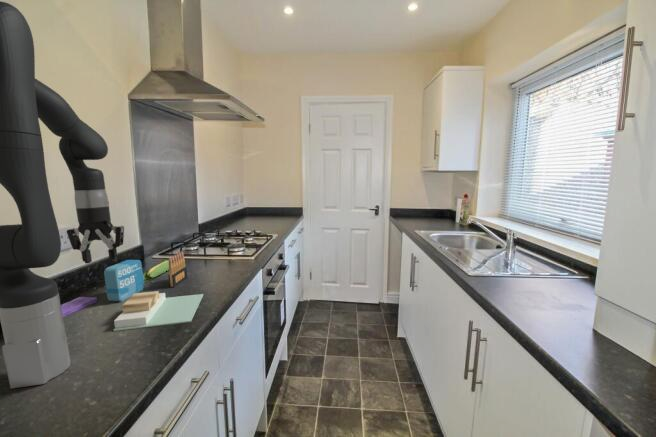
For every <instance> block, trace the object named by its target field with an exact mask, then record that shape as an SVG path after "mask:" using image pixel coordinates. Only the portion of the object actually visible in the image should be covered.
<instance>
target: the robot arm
mask: <svg viewBox="0 0 656 437" xmlns="http://www.w3.org/2000/svg"><path fill="white" fill-rule="evenodd" d="M31 30H32V29H31V27H30V25H29V23H28V20H27V19H26V18H25V16H24V15H23V13H22V12H21V11H20V10H19V9H18V8H17V7H16V6H14V5H13V4H10V3H8V2H6V1H0V185H1V186H2V187H3V188H4V189H5V190H6V191H7V192H8V193H9V195H10V196H11V197H12V200H14V202H15V204H16V207H17V209H18V213H19V216H20V221H21V223H20V224H19V223H18V224H5V225H4V224H1V225H0V324H1V325H0V326H1V330H2V335H3V340H4V344H3V345H2V346H1V349H2V355H3V360H4V364H5V368H6V373H7V379H8V385H9V388H10V389H18V388H23V387H24V388H26V387H31V386H38V385H45V384H46V383H48V381H50V380H52V379H54V378H56V377H58V376H60V375H61V374H63V373H64V372H65V371H66V370H68V368H69V367H70V366H71V356H70V350H69V345H68V340H67V333H66V328H65V323H64V317H63V316H62V310H61V305H62V304H61V299H60V294H59V293H60V292H59V288H58V282H56V281H55V280H54V279H51V278H48V277H43V276H41V275H39V274H36V273H35V272H33V271H31V270H30V269H38V268H47V267H48V268H49V267H50V266H52V265H54V264H55V263H56V262H57V261H58V259H59V257H60V256H61V250H62V249H61V248H62V243H61V242H62V241H61V235H60V230H59V226H58V223H57V218H56V215H55V211H54V206H53V204H52V199H51V194H50V190H49V184H48V179H47V178H48V176H47V172H46V171H47V170H46V163H45V161H46V160H45V152H44V145H43V144H44V143H43V137H42V132H41V126H40V121H41V122H42V123H43V124H44V125H45V126H46V128H47V129H48V130H49V131H50V132H51V133H52V134H53V135H55V136H56V137H60V139H59V142H58V149H59V152H60V154H61V157H62V158H63V160H64V162H65V164H66V166H67V168H68V171H69V172H70V175H71V178H72V184H73V190H74V205H75V210H76V217H77V222H78V227H77V228H76V227H73V228H70V229H67V230H66V235H67V237H68V240H69V242H70V245H71V248H72V250H75V251H76V250H77V251H80V253H81V259H82V261H83V262H84V263H85V264H90V263H91V262H92V261H93V260H92V254H91V253H92V252H91V249H90V248H91V245H92V243H93V241H102V243H103V244H105V245H106V247H107V248H108V250H107V252H108V258H109V262H113V263H114V262H115V261H116V259H117V258H118V251H117V248H119V247H120V246H122V245H124V240H125V239H124V235H125V234H124V233H125V226H124V225H119V226H116V225H113V224H112V222H111V220H112V219H111V212H110V211H111V210H110V202H109V198H108V194H107V190H106V184H105V183H106V182H105V177H104V172H103V171H102V170H100V169H98V168H94V167H93V168H92V167H89V166H87V164H86V162H85V161H98V160H103V159H105V158H106V157H107V155H108V152H109V148H108V144H107V142H106V140H105V139H104V138H103V137H102V135H100V133H99V132H97V131H96V130H95V129H94V128H92V127H91V126H89V124H87V123H86V122H84V120H82V119H80V117H79V116H78V115H77V114H76V112H75V110H73V108H72V106H71V105H70V104H69V103H68V102H67V101H66V99H64V97H62V96H61V94H59V93H58V92H57V91H55V90H54V89H53V88H50V87H49V86H48V85H47V84H45V83H43V82H41V80H38V79H37V78H35V77H36V74H35V73H36V72H35V71H36V70H35V68H36V65H35V64H36V63H35V60H36V58H35V57H36V56H35V45H34V44H35V43H34V37H33V32H32V31H31ZM112 231H113V233H114V234H115V239H114V237H113V235H111V233H112ZM80 234H81V235H82V236H83V238H82V240H81V239H80Z"/></svg>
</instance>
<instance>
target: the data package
mask: <svg viewBox="0 0 656 437" xmlns="http://www.w3.org/2000/svg"><path fill="white" fill-rule="evenodd" d="M103 271H104V272H103V275H104V276H103V277H104V283H105V288H106V289H105V291H106V296H107V297H106V298H107V300H108V301H109V302H124V301H127V300H128V299H129V298H130V297H131V296H132V295H133V294H135V293H142V291H143V290H144V288H145V282H144V281H145V280H143V274H144V272H143V266H142V261H141V260H140V259H126V260H124V261H121V262H119V263H116V264H113V265H110V266H108V267H106V268H105V269H104V270H103Z"/></svg>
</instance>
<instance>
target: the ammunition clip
mask: <svg viewBox="0 0 656 437" xmlns="http://www.w3.org/2000/svg"><path fill="white" fill-rule="evenodd" d="M168 260H169V271H168V285H169V286H168V287H169V288H174V289H175V288H176V287H177V286H178V285H180V284H181V283H183V282H184V281H185V280H187V279H188V278H189V277H188V271H187V270H188V268H187V266H186V260H185V256H184V252H183V250H181V251H179V252H178V253H176V254H174V255H171V256H169V257H168Z"/></svg>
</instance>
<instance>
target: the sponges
mask: <svg viewBox="0 0 656 437" xmlns="http://www.w3.org/2000/svg"><path fill="white" fill-rule="evenodd" d="M97 298H98V297H90V296H89V297H85V296H78V297H77V298H74V299H72V300H70V301H67V302H65V303H62V304H61V310H62V316H63V318H64V317H66V316H68V315H70V314H73V313H75V312H77V311H79V310H82V309H84V308H86V307H88V306H90V305H93V304H95V303H97V302H98V299H97Z"/></svg>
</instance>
